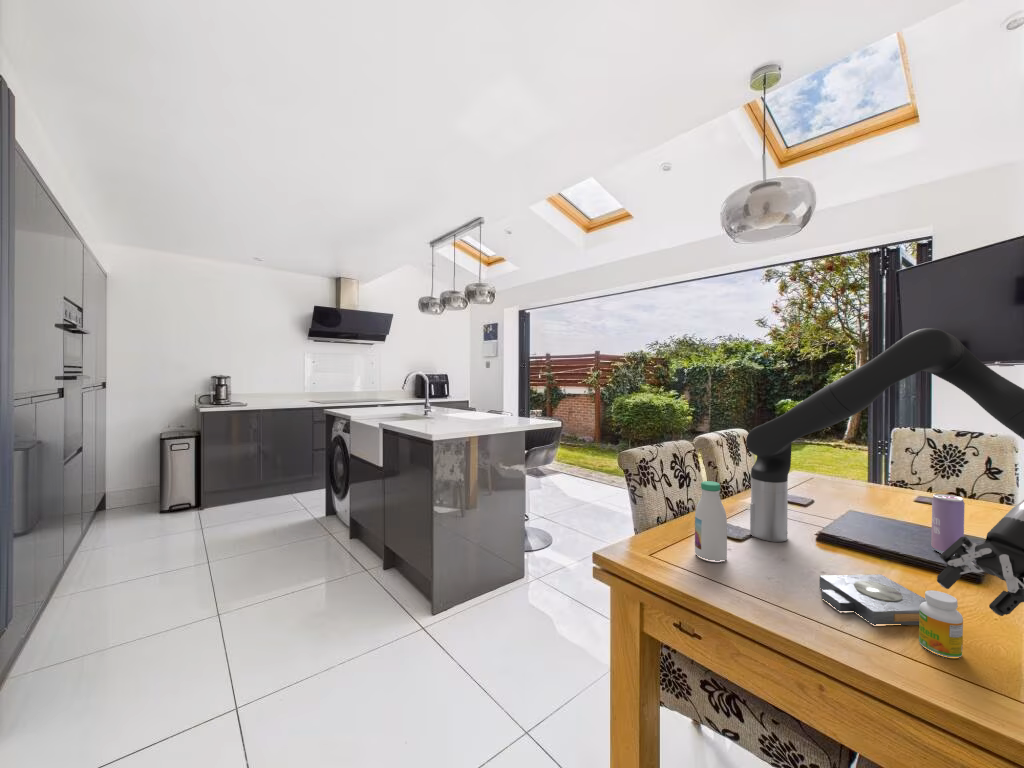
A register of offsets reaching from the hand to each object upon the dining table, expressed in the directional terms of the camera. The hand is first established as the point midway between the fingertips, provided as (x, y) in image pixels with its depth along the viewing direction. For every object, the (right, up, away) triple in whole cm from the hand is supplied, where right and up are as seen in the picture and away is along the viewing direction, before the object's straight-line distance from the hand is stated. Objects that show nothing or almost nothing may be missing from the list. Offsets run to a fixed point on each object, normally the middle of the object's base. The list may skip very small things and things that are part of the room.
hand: (966, 597), depth 74 cm
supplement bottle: (-4, -10, 0) cm, 11 cm away
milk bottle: (-27, -9, +38) cm, 47 cm away
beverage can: (+36, -7, +38) cm, 53 cm away
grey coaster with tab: (-5, -9, +14) cm, 17 cm away
